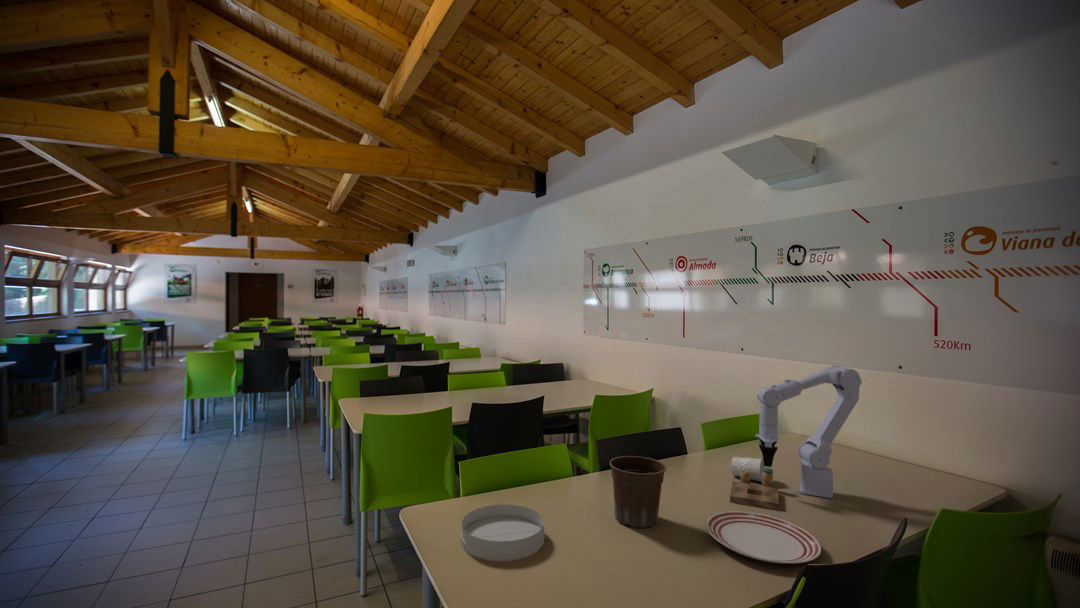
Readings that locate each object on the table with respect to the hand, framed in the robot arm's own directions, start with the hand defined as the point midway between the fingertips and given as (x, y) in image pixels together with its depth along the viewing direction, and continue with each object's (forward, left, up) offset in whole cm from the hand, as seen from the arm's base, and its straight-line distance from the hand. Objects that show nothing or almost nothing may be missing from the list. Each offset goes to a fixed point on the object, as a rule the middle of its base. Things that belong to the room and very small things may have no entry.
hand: (767, 463), depth 166 cm
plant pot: (+35, +43, -9) cm, 56 cm away
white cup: (+11, -10, -6) cm, 16 cm away
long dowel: (0, 0, -9) cm, 9 cm away
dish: (+64, +71, -10) cm, 96 cm away
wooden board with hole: (+4, +10, -9) cm, 14 cm away
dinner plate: (+2, +43, -10) cm, 44 cm away
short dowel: (+7, -2, -9) cm, 12 cm away
